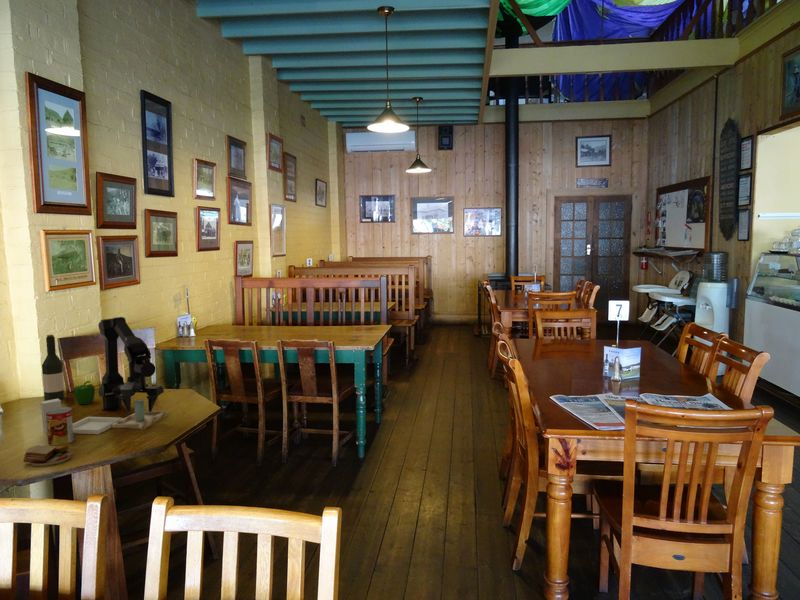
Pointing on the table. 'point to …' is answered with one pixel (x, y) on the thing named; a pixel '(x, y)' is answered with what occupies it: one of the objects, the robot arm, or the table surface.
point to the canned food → (59, 426)
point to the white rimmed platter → (94, 425)
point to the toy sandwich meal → (47, 455)
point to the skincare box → (47, 406)
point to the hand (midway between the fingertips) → (139, 411)
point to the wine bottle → (52, 373)
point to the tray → (131, 423)
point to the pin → (139, 410)
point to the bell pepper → (84, 393)
